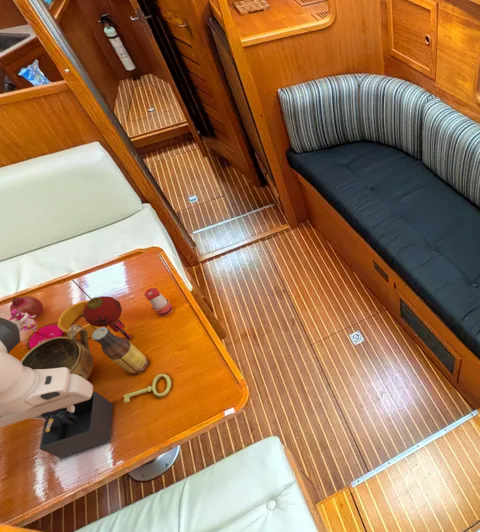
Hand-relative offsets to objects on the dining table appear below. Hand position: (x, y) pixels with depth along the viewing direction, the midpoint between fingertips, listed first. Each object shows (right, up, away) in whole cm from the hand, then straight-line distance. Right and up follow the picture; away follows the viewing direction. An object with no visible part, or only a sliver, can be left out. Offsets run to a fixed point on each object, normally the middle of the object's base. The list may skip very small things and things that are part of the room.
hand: (60, 414), depth 100 cm
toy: (+6, +22, +35) cm, 42 cm away
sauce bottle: (+5, +7, +22) cm, 23 cm away
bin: (0, -8, +9) cm, 12 cm away
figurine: (-29, +14, +28) cm, 43 cm away
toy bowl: (-18, +18, +32) cm, 41 cm away
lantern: (-2, +14, +28) cm, 32 cm away
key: (+13, +1, +17) cm, 21 cm away
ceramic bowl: (-13, +4, +19) cm, 23 cm away
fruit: (-38, +21, +34) cm, 55 cm away
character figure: (0, -3, +4) cm, 5 cm away
